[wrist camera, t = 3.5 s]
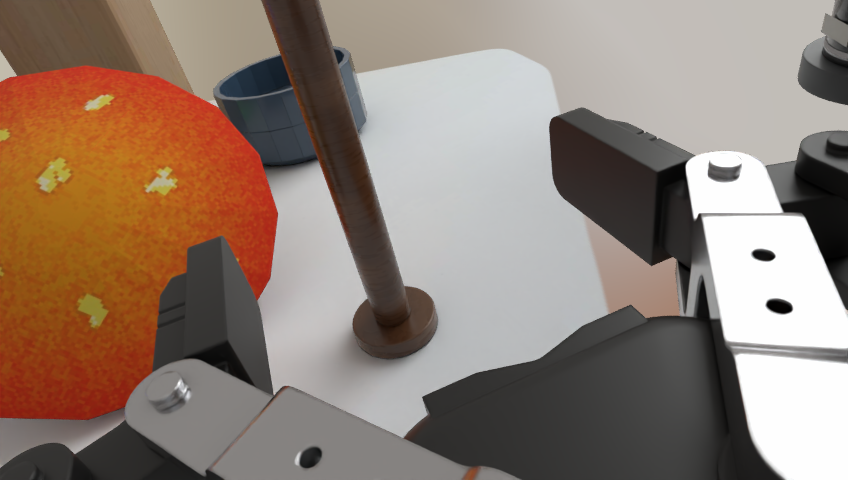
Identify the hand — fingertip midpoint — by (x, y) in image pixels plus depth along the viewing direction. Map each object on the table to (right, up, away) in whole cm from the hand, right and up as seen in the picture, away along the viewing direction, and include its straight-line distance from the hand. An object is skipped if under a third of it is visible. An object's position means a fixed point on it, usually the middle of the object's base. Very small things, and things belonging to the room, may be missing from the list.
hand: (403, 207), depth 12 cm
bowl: (-12, +10, +42) cm, 44 cm away
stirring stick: (-1, -6, +17) cm, 18 cm away
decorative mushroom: (-17, -6, +22) cm, 28 cm away
